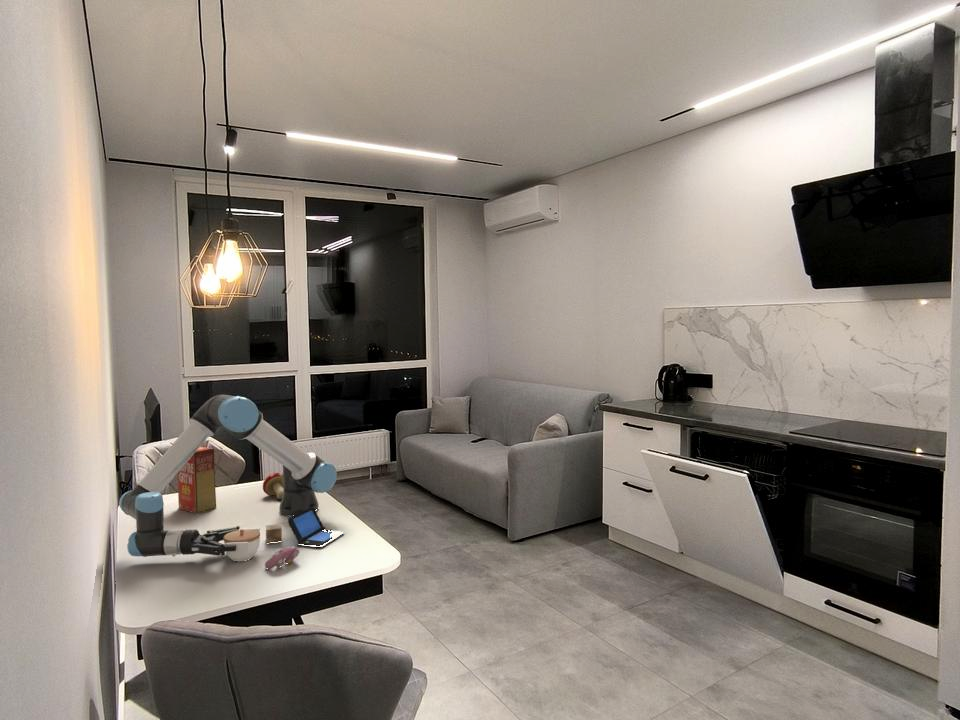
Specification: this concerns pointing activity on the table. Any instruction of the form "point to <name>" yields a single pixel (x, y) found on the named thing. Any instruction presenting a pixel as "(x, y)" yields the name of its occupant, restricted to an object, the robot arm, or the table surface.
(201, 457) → the food packaging
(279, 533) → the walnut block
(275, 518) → the table surface
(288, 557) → the video game controller
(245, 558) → the lidded jar
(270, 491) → the decorative mushroom
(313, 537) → the handheld game console
